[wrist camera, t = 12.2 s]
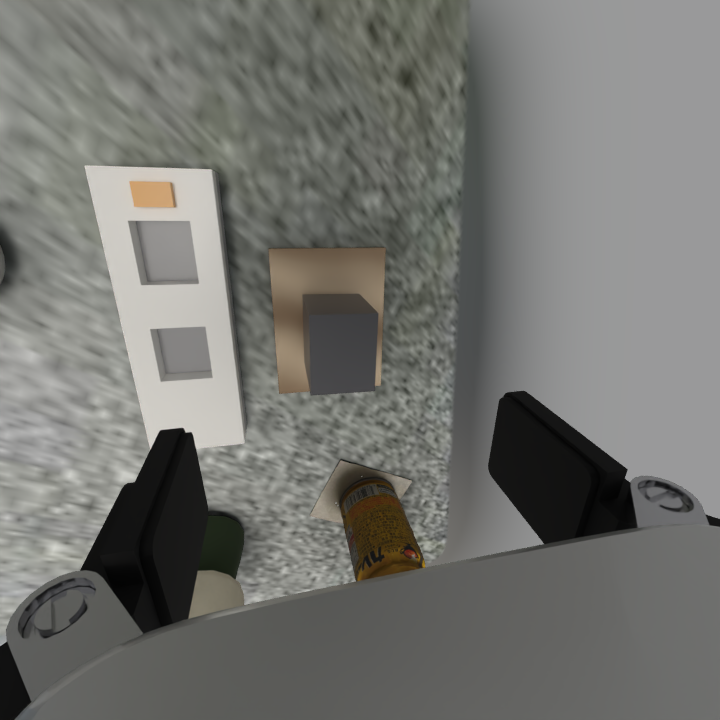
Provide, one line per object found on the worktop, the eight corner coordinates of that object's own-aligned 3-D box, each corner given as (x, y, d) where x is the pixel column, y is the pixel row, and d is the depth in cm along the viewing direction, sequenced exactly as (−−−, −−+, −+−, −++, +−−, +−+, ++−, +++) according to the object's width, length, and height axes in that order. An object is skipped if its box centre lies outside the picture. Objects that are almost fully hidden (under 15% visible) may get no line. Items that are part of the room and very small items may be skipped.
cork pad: (268, 248, 28) (268, 249, 28) (383, 247, 30) (385, 247, 30) (279, 391, 33) (279, 393, 32) (379, 383, 35) (380, 385, 34)
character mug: (146, 510, 35) (80, 667, 23) (220, 480, 35) (192, 618, 23) (204, 582, 39) (174, 744, 27) (268, 555, 40) (266, 702, 28)
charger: (301, 291, 30) (309, 315, 23) (356, 290, 31) (378, 313, 24) (303, 356, 32) (310, 395, 25) (354, 354, 33) (374, 390, 26)
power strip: (105, 170, 25) (79, 164, 21) (218, 173, 26) (210, 168, 23) (161, 432, 32) (148, 457, 29) (247, 424, 33) (244, 447, 30)
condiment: (379, 531, 42) (417, 645, 31) (309, 514, 39) (323, 634, 28) (411, 479, 40) (463, 581, 29) (340, 458, 37) (367, 562, 26)
